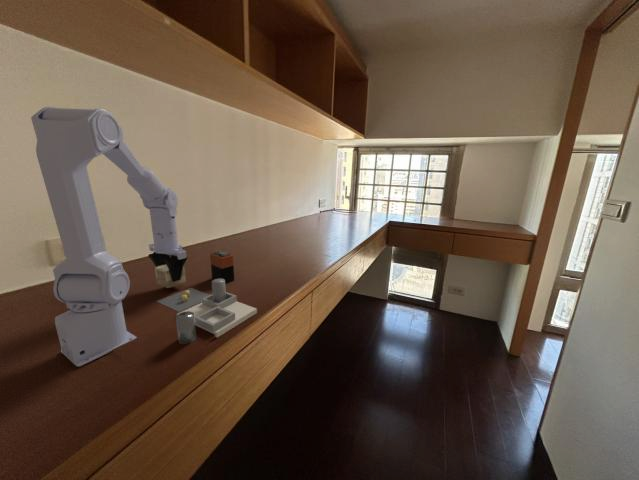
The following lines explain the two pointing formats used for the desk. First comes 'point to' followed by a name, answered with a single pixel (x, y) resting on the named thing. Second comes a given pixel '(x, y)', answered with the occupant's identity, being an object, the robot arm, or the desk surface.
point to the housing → (167, 276)
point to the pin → (186, 327)
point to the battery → (222, 266)
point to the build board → (220, 310)
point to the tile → (183, 299)
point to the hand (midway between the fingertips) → (170, 278)
